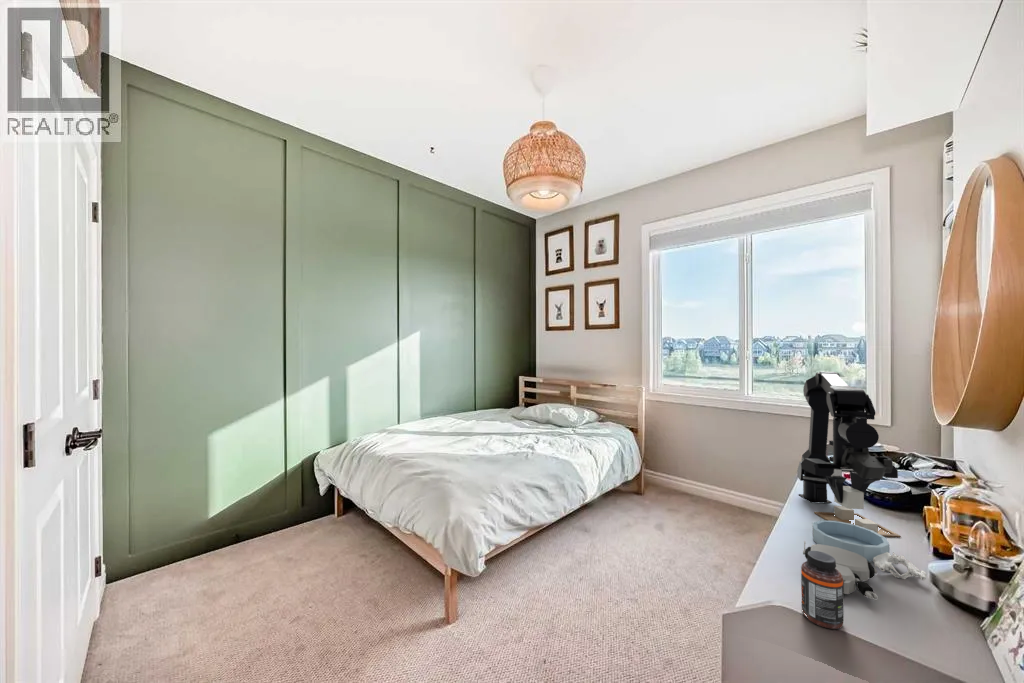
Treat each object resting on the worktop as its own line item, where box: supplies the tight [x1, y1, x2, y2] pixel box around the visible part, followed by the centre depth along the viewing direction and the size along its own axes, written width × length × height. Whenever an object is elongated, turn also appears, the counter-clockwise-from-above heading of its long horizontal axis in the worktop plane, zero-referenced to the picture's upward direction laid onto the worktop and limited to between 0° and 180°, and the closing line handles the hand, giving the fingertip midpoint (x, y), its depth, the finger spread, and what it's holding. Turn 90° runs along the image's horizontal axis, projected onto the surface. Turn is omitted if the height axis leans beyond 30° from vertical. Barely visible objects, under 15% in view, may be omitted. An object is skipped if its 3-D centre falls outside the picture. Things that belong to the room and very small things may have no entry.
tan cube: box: [833, 505, 855, 520], centre depth 113 cm, size 3×3×3 cm
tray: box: [813, 511, 902, 539], centre depth 109 cm, size 14×12×1 cm
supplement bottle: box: [800, 551, 845, 630], centre depth 71 cm, size 6×6×11 cm
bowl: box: [811, 519, 891, 562], centre depth 96 cm, size 14×14×4 cm
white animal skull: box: [872, 552, 928, 581], centre depth 85 cm, size 8×4×7 cm
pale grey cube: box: [855, 518, 879, 533], centre depth 104 cm, size 3×3×3 cm
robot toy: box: [802, 540, 879, 600], centre depth 83 cm, size 12×4×15 cm
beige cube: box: [833, 485, 865, 510], centre depth 97 cm, size 4×4×4 cm
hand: (848, 502), depth 97 cm, fingers closed on beige cube, 4 cm apart
